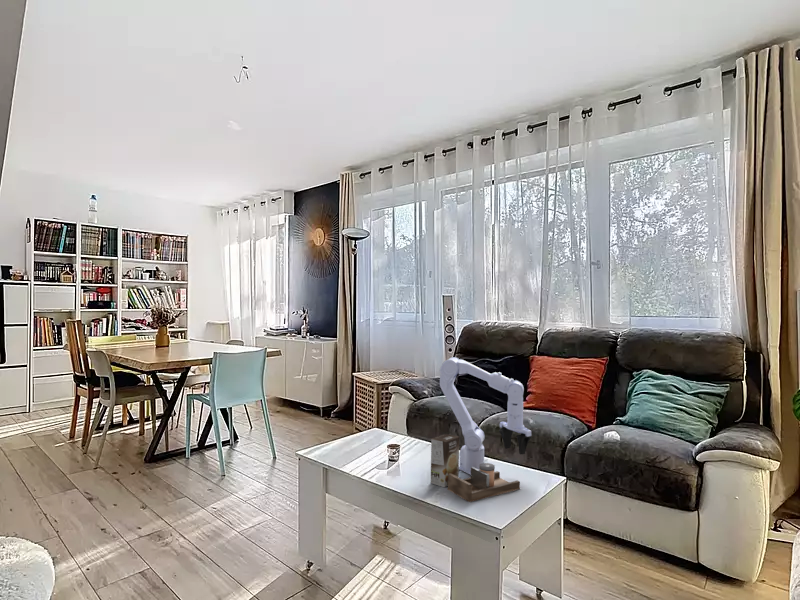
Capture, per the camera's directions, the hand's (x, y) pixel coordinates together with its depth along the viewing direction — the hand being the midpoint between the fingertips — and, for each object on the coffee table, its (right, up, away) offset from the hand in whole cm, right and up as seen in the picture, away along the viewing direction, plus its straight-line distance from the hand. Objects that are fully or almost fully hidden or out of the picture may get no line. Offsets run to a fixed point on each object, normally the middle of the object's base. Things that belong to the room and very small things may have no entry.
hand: (514, 450), depth 182 cm
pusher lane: (-14, -9, -13) cm, 21 cm away
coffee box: (-27, -9, -6) cm, 29 cm away
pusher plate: (-15, -9, -13) cm, 22 cm away
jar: (-12, -9, -12) cm, 19 cm away
